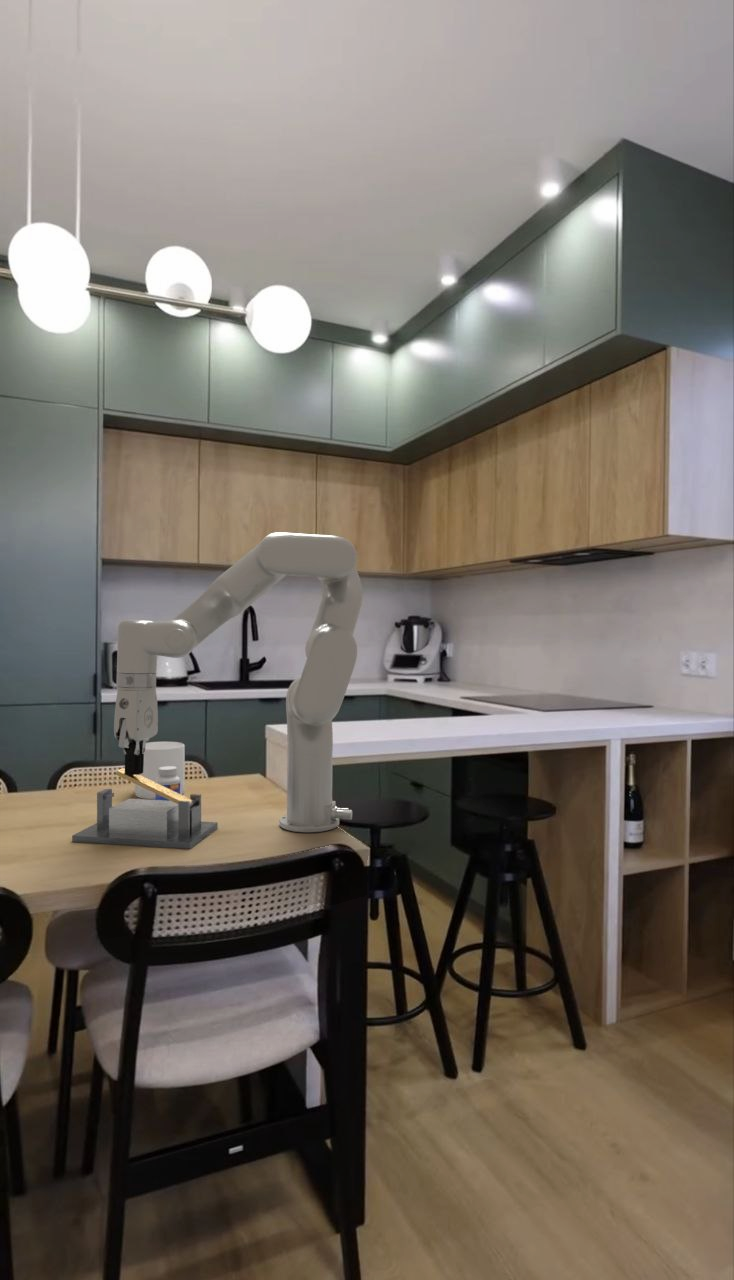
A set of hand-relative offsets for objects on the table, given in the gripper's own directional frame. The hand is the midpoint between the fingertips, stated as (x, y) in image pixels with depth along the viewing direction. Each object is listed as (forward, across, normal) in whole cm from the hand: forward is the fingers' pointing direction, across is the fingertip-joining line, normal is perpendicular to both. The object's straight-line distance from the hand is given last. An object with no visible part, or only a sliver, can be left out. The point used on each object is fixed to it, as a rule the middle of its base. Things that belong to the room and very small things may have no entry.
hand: (133, 773), depth 143 cm
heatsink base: (+12, 0, -3) cm, 12 cm away
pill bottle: (+12, +18, +1) cm, 22 cm away
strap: (+3, 0, -4) cm, 5 cm away
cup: (+12, +33, +10) cm, 37 cm away
